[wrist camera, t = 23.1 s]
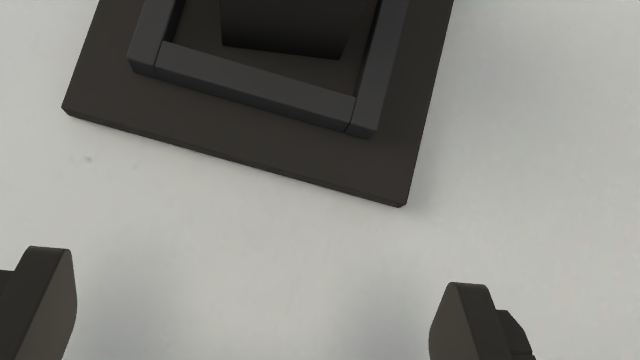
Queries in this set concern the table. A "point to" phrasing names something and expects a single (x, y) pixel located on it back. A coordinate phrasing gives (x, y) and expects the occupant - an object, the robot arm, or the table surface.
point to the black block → (290, 25)
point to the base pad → (268, 91)
